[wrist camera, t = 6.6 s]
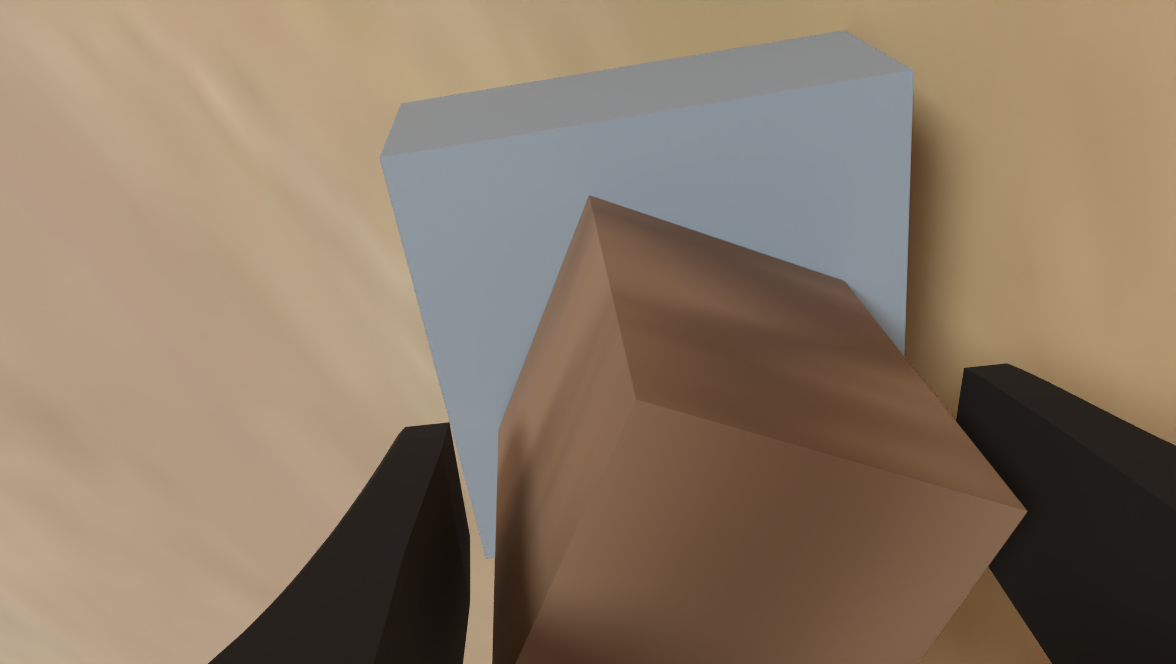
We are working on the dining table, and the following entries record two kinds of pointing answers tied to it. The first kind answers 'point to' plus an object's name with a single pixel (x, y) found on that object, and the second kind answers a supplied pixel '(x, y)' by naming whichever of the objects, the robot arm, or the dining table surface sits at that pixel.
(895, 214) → the base block
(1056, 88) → the dining table surface
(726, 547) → the walnut block
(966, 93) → the dining table surface
